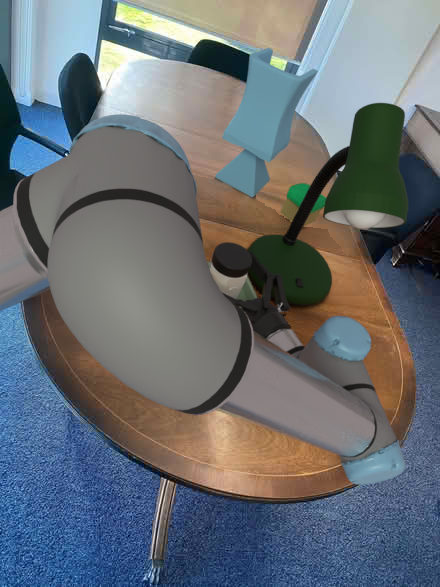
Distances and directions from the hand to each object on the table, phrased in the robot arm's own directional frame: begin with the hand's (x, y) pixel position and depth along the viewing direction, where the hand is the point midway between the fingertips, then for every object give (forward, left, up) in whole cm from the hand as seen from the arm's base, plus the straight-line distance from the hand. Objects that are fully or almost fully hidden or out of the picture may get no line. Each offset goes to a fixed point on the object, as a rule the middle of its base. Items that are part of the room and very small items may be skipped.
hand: (222, 260), depth 82 cm
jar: (+1, -2, -8) cm, 9 cm away
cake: (+36, +28, -9) cm, 47 cm away
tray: (0, -2, -9) cm, 9 cm away
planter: (+24, +46, -9) cm, 53 cm away
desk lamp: (+20, 0, -9) cm, 22 cm away
